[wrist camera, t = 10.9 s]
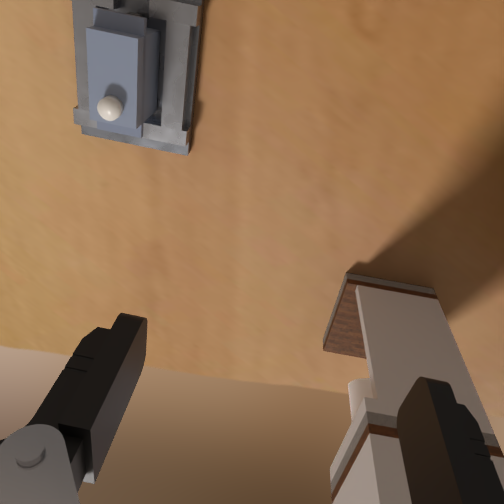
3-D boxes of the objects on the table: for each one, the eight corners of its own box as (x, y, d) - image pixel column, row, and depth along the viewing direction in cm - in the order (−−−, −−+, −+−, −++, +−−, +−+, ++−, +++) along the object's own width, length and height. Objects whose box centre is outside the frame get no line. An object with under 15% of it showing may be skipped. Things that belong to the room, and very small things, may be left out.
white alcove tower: (346, 272, 50) (406, 685, 21) (433, 288, 50) (616, 723, 21) (322, 339, 56) (344, 727, 27) (400, 353, 56) (505, 756, 27)
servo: (115, 4, 36) (78, 9, 30) (161, 14, 36) (133, 21, 30) (116, 114, 41) (85, 137, 35) (156, 123, 41) (131, 147, 35)
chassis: (77, -43, 35) (63, -45, 33) (205, -16, 35) (199, -16, 33) (86, 130, 43) (75, 138, 41) (189, 152, 44) (184, 161, 41)
